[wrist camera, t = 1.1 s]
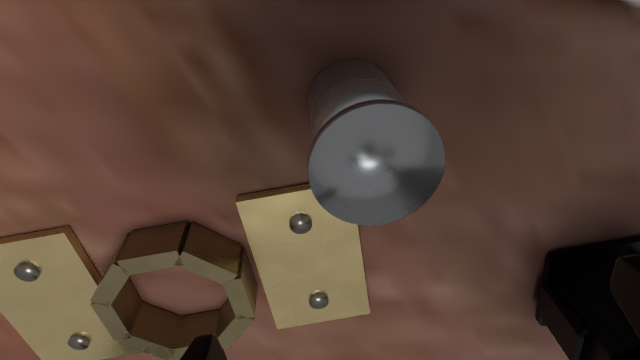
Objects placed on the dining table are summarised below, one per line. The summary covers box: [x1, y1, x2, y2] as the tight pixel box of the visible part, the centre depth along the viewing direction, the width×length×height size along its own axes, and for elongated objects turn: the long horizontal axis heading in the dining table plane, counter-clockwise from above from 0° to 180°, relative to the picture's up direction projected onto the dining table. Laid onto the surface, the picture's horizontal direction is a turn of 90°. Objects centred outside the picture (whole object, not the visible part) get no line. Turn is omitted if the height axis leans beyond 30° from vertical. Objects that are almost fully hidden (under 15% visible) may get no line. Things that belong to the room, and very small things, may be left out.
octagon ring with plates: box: [0, 183, 370, 360], centre depth 23 cm, size 21×10×2 cm, turn 99°
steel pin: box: [308, 59, 445, 225], centre depth 16 cm, size 5×5×6 cm
